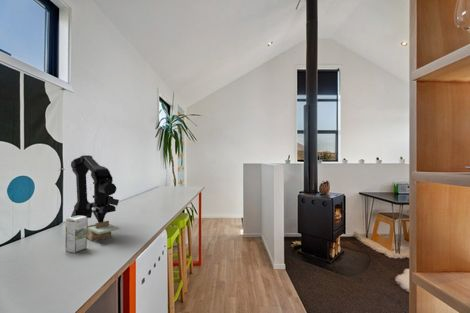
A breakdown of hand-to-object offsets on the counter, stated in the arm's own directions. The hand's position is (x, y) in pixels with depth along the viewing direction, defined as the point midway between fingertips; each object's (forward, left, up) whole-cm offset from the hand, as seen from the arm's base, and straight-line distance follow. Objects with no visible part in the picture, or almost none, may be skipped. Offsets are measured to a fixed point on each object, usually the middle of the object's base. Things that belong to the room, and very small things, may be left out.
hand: (100, 224), depth 119 cm
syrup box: (+5, -14, -7) cm, 17 cm away
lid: (+2, 0, -2) cm, 3 cm away
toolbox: (-5, +1, -7) cm, 9 cm away
